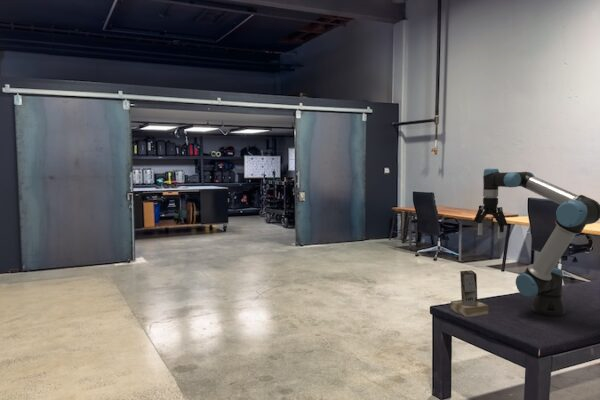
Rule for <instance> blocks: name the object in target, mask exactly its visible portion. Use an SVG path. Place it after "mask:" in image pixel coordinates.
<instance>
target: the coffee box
mask: <svg viewBox="0 0 600 400" xmlns="http://www.w3.org/2000/svg"><path fill="white" fill-rule="evenodd" d="M459 275H460V290H461V291H460V292H461V293H460V294H461V300H462V302H463V303H464V305H465V306H477V305H478V303H477V301H478V280H477V279H478V277H477V273H476V272H475V271H473V270H460V274H459Z"/></svg>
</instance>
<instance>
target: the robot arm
mask: <svg viewBox="0 0 600 400" xmlns="http://www.w3.org/2000/svg"><path fill="white" fill-rule="evenodd" d="M482 178H483V189H482V190H483V192H482V196H483V199H482V205H481V204H480V205H478V210H477V212H476V214H475V217H474V219H473V221H474V222H475V223H476V228H477V236H483V221H484V220H485V218H486V217H487V215H489V216H493V218H494V220H496V223H497V224H498V225H497V239H503V235H504V230H505V228H504V227H505V226H508V222H507V219H506V216H505V214H504V209H503V207H502V206H498V204H499V198H498V197H499V188H501V187H502V188H503V187H504V188H517V187H521V188H524V189H525V190H528V191H530V192H531V193H532V192H533V193H535V194H537V195H538V196H541V197H543V198H545V199H548V200H549V201H552V202H553V203H556V204H558V205H559V206H558V207H557V209H556V211H555V212H556V213H555V216H556V217H555V221H554V222H555V224H556V225H555V228H554V229H553V231H552V232H551V234H550V236H549V237H548V239H547V241H546V242H545V244H544V246H543V247H542V249H541V251H540V253H539V254H538V255H537V257H536V259H535V260H534V262H533V263H532V264H528V266H527V267H526V269H525V271H524V272H522V273H520V274H518V275H517V276H516V278H515V286H516V289H517V291H518V292H519V293H520V294H521V295H522V296H525V297H528V298H530V297H532V298H533V297H535V298H534V301H533V302H532V305H531V306H532V307H531V308H532V309H531V311H532V312H533V313H535V314H539V315H542V316H551V317H561V316H564V315H566V307H565V304H564V300H563V278H564V275H563V271H562V269H560V268H557V267H556V266H557V264H559V261H560V259H561V258H562V257H563V255H564V253H565V252H566V251H567V248H568V247H569V246H570V244H571V242H572V241H573V239H574V238H575V236H576V235H581V233H582V232H583V230H585V229H584V228H585V227H586V226H587V225H592V224H595V223H596V222H598V221H599V220H600V203H599V202H598V201H596V200H595V199H593V198H591V197H588V196H585V195H583V194H579V195H578V194H576V193H573V192H571V191H569V190H567V189H564V188H562V187H560V186H557V185H555V184H552V183H550V182H548V181H546V180H543V179H541V178H539V177H536V176H535V175H534V173H533V172H530V171H518V172H517V171H516V172H515V171H513V172H512V171H511V172H508V171H507V172H500V171H499V169H498V168H485V169H484V170H483V176H482Z"/></svg>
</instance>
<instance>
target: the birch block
mask: <svg viewBox="0 0 600 400" xmlns="http://www.w3.org/2000/svg"><path fill="white" fill-rule="evenodd" d="M477 303H478V305H477V306H465V305H464V303H463V302H462V299H459V300H450V310H451V311H452V310H453V311H452V312H454V311H455V313H457V314H458V315H459V314H460V315H461V314H462V315H461V316H463V315H464V316H463V317H466V318H470V317H471V318H472V317H478V316H486V315H489V305H488V304H486V303H483V302H480V301H478V300H477Z"/></svg>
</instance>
